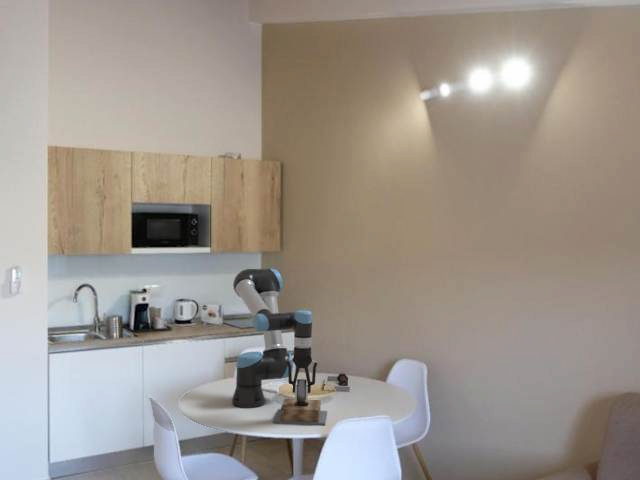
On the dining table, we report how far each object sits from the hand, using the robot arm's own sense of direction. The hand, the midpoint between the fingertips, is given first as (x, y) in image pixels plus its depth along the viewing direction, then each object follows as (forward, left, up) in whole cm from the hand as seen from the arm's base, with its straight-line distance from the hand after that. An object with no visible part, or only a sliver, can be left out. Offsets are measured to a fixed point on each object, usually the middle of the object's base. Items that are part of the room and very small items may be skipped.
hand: (301, 400), depth 292 cm
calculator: (-16, +51, -9) cm, 54 cm away
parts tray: (+14, +59, -8) cm, 61 cm away
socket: (0, 0, -8) cm, 8 cm away
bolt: (+17, +59, -8) cm, 62 cm away
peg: (0, 0, -3) cm, 3 cm away
